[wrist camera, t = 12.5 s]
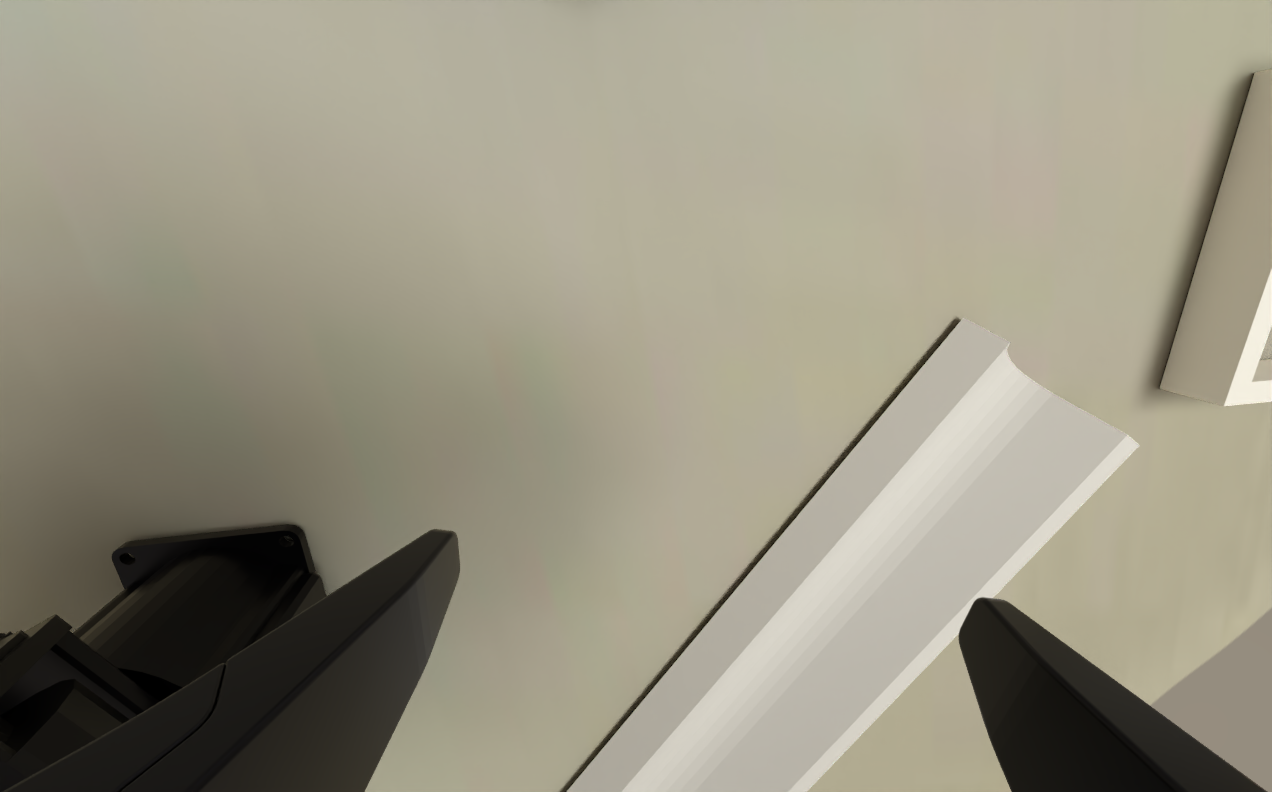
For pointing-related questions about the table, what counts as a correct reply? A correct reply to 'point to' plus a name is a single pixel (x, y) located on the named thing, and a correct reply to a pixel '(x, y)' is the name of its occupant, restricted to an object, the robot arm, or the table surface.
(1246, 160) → the tray
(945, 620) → the crown molding
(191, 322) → the table surface
